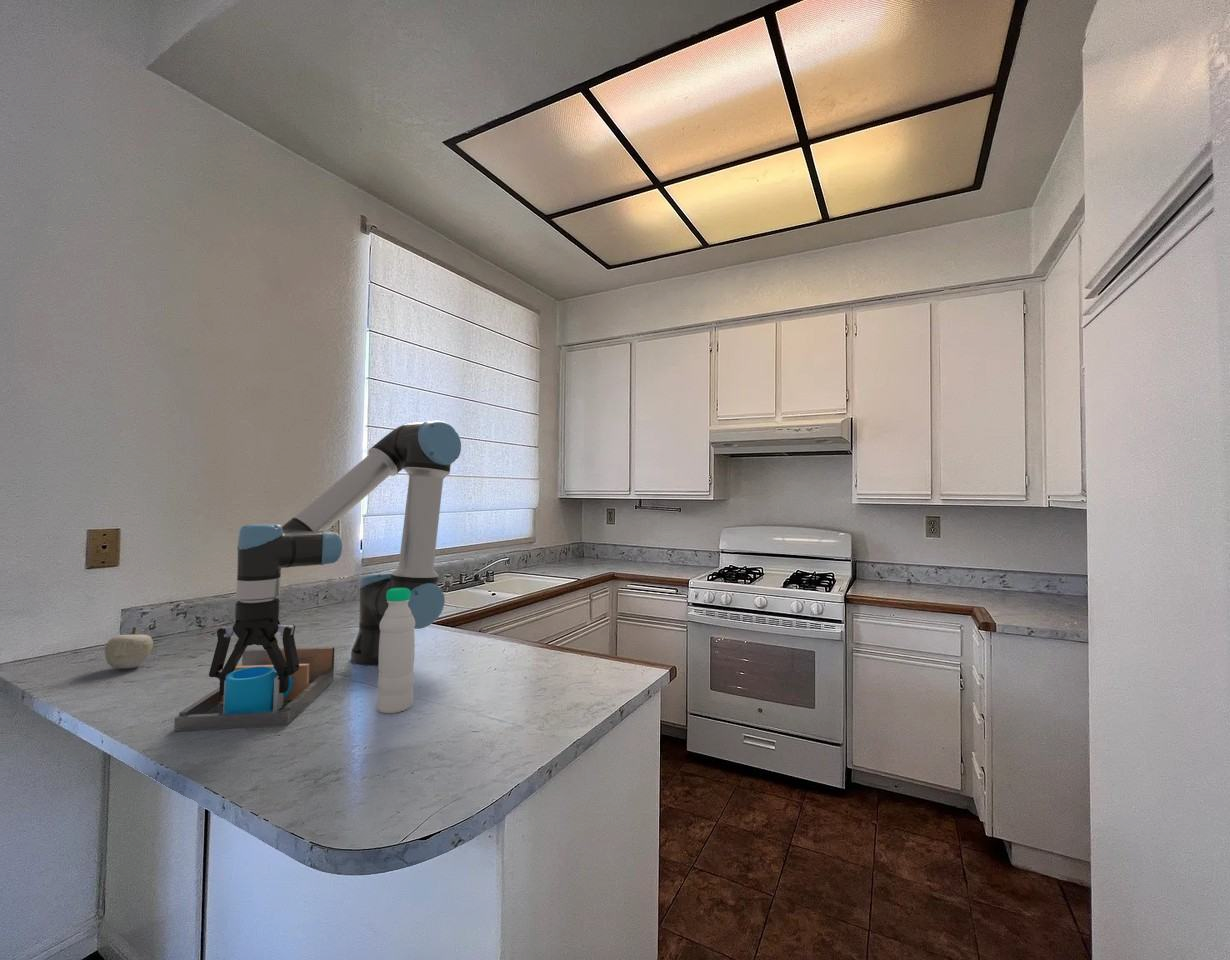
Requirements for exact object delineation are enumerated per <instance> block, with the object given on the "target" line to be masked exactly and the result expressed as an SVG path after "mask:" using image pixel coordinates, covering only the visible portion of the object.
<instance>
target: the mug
mask: <svg viewBox="0 0 1230 960" xmlns="http://www.w3.org/2000/svg"><path fill="white" fill-rule="evenodd" d="M275 674H276V675H278V674H277V672H276V671H275V669H274V668H272V667H266V666H258V667H249V668H244V669H240V670H236V671H233V672H231V673H229V674H227V676H226V682H225V707H224V713H237V712H258V711H273V698H274V675H275ZM292 684H293V682H292V678H291V677H290V675H289V686H288V690H287V691H286V692H285V693H284V694H283V699H284V698H285V697H286V696H287V695H288V693H289V692H290V690H291V688H292Z"/></svg>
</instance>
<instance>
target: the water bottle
mask: <svg viewBox="0 0 1230 960" xmlns="http://www.w3.org/2000/svg"><path fill="white" fill-rule="evenodd" d="M386 599H387V602H388V608H387V610H386V611H385V613H384V616H383V618H382V619H381V621H380V625H379V628H380V639H379V665H378V678H377V691H378V692H377V699H376V709H377V710H378V711H379V712H380V713H382V714H387V713H389V714H390V713H392V714H398V713H397V712H399V713H402V712H401V711H403V712H405V711H407V710H409V709H411V707H412V706H413V704H414V690H413V689H414V687H413V686H414V681H415V677H414V676H415V675H414V672H413V671H414V664H415V648H416V646H415V645H416V644H415V643H416V642H415V641H416V637H415V629H414V628H415V619H414V617H413V615H412V614H411V610H410V608H409V607H408V602H409V601H410V600H409V599H410V590H409V589H408V588H392V589H389V590H388V591H387V593H386ZM408 708H409V709H408ZM406 709H407V710H406ZM404 710H405V711H404ZM389 714H388V715H389ZM390 715H391V714H390Z"/></svg>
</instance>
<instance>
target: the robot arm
mask: <svg viewBox="0 0 1230 960" xmlns="http://www.w3.org/2000/svg"><path fill="white" fill-rule="evenodd" d="M461 451H462V440H461V438H460V435H459V433H458V432H457V431H456V429H455V428H454V427H453V426H452V425H450V424H449V423H447V422H445V421H442V420H427V421H421V422H420V421H419V422H413V423H405V424H402V425H400V426H398V427H396V428H395V429H393V430H392V431H390V432H389V433H388V434H386V435H385V436H384V437H382V439H380V440H379V441H378V442H377V443H376V444H374V445H372V446H371V447H370V448H369V449H368V453H367V456H366V457H364V458H363V459H362V460H361V461H360V462H358V464H356V465H355V466H354V467H352V468H351V469H350V470H349V471H348V472H347V473H345V474H344V475H343V476H342V477H340V478H339V479H338V480H337V481H336V482H334V483H333V484H332V485H331V486H330V487H329V488H327V489H326V490H325V491H324V492H323V493H321V494H320V495H318V497H317V498H315V499H314V500H312V502H310V503H309V504H308V505H306V507H304V508H303V509H302V510H301V511H299V512H298V513H297V514H296V515H295V516H294V517H293V518H291V519H290V520H288V521H287V522H286V523H285V524H284V525H281V524H279V523H252V524H245V525H243V526H242V527H240V528H239V534H238V539H237V541H238V542H237V547H236V549H237V571H236V572H237V574H236V587H235V588H236V589H235V590H236V591H235V598H236V600H238V601H236V602H235V610H234V618H235V622H234V624H233V625H231V626H229V625H224V626H222V627H220V628H218V629H217V630H216V635H217V643H216V646H215V650H214V653H213V656H212V657H213V658H212V661H211V665H210V668H209V671H208V676H209V678H216V679H218V680H219V687H220V689H219V694H220V696H221V695H224V702H223V703H222V704H223V707H222V713H224V707H225V682H226V676H227V674H229V673H231V672H233V671H234V669H235V667H236V666H238V664H239V662H240V660H241V659H242V654H243V653H244V651H245V649H247V648H248V646H253V645H254V646H262V649H265V650H266V651H267V653H268V655H269V657H270V659H271V661H272V664H273V666H274V668H275V670H276V672H277V674H278V677H276V678H275V679H274V698H273V711H279V710H280V709H281V708H282V707H283V706H284V700H283V694H284V693H285V692H286V691H287V690H288V686H289V675H292V674H294V673H295V672H296V671H298V670H299V662H298V657H297V651H296V648H297V646H296V645H297V644H296V640H295V636H294V635H295V631H296V625H295V624H289V625H288V624H281V622H280V620H279V618H280V617H279V616H280V599H279V598H278V597H279V596H280V594H281V593H280V592H281V576H282V572H281V571H282V569H286V568H292V567H293V568H294V567H297V568H298V567H308V566H324V565H327V564H329V565H330V564H334V563H336V562H338V561H339V559H340V558H341V555H342V552H343V541H342V538H341V536H340V535H339V533H338V532H336V531H332V530H331V531H330V530H329V529H331V527H333V526H334V525H335V524H336V523H338V521H340V519H342V518H343V517H344V516H346V514H347V513H348V512H350V511H351V510H352V509H353V508H354V507H355V506H356V505H357V504H359V503H360V502H361V501H362V500H363V499H364V498H366V497H367V496H368V495H369V494H370V493H371V492H373V490H375V489H376V488H377V487H378V486H380V484H381V483H383V482H384V481H385V480H386V479H387V478H388V477H389V476H391V477H393V476H396V475H397V474H398V473H399V472H401V471H402V470H404V471H405V472H406V473H407V475H408V485H407V493H406V494H407V495H406V502H405V510H404V511H405V512H404V517H403V518H404V520H403V528H402V536H401V543H400V552H399V561H398V567H397V568H396V569H395V570H393V571H388V572H378V573H369V574H365V575H363V576H362V577H361V580H360V584H359V618H358V619H359V623H358V625H359V626H358V627H359V628H358V632H357V635H356V638H355V640H354V643H353V645H352V648H351V650H350V651H351V652H350V656H351V657H350V661H351V662H352V663H354V664H358V665H365V666H366V665H367V666H369V665H370V666H372V665H373V666H376V665H377V666H379V639H380V628H379V625H380V621H381V619H382V618H383V616H384V613H385V611H386V610H387V608H388V602H387V599H386V593H387V591H388V590H389V589H392V588H408V589H409V590H410V599H409V600H410V601H409V602H408V607H409V608H410V610H411V614H412V615H413V617H414V619H415V628H414V630H419V629H423V628H424V629H425V628H427V627H429V626H431V625H432V624H433V623H434V622H435V621H437V620H438V619H439V617H440V615H441V614H442V613H443V610H444V607H445V599H446V598H445V593H444V591H442V588H441V587H440V586H438V584H439V574H438V573H437V571H436V570H435V568H434V565H435V556H436V548H437V539H438V538H437V537H438V532H439V531H438V530H439V520H440V511H441V502H442V493H443V484H444V479H445V478H447V477H448V476H449V475H450V474H451V466H452V464H454V462H456V460H457V459H459V457H460V455H461ZM278 632H279V634H280V636H282V639H281V640H282V645H283V648H284V652H285V658H286V661H285V659H284V657H283V655H282V653H281V650H280V646H279V643H278V639H277V637H276V634H277V633H278ZM234 634H235V635H236V637H237V638H238V639H237V640H236V643H235V645H234V647H233V650H232V652H231V654H230V655H229V657H228V659H227V653H228V650H229V646H230V642H231V638H232V636H233V635H234ZM226 659H227V661H226ZM225 662H226V663H225Z"/></svg>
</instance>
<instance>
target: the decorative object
mask: <svg viewBox="0 0 1230 960" xmlns="http://www.w3.org/2000/svg"><path fill="white" fill-rule="evenodd" d="M136 631H137V626H133V627H132V631H131V634H118V635H115V636H113V637H112V638H111V639H109V640H108V642H107V644H106V646H105V650H104V651H105V652H104V655H105V656H104V657H105V660H106V662H107V664H108V665H109V666H110V667H111V668H113V669H115V670H121V669H135V668H137V667H138V666H140V665H142V664H143V663H144V662H145V661H146V660H147V659H148V657H149V656H150V654H151V652H152V650H153V647H154V640H153V639H152V637H151V636H150V635H149V634H136Z"/></svg>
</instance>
